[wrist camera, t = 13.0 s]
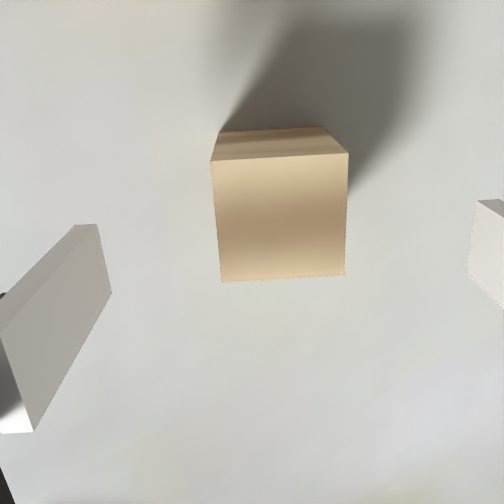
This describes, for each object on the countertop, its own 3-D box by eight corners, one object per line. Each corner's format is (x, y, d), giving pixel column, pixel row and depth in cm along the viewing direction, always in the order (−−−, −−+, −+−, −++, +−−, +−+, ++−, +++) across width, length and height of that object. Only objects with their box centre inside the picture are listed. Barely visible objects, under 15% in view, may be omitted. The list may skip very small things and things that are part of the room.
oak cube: (218, 132, 21) (210, 161, 16) (322, 125, 21) (348, 152, 16) (226, 227, 24) (221, 282, 18) (320, 222, 23) (343, 275, 18)
